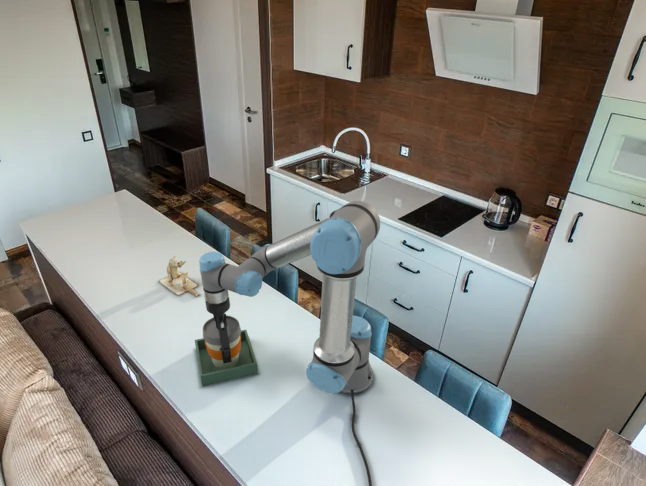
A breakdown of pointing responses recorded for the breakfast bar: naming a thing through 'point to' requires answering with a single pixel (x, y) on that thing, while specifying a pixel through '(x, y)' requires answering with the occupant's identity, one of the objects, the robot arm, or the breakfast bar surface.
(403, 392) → the breakfast bar surface
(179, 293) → the wooden toy
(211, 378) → the green square tray
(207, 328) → the reusable coffee cup
